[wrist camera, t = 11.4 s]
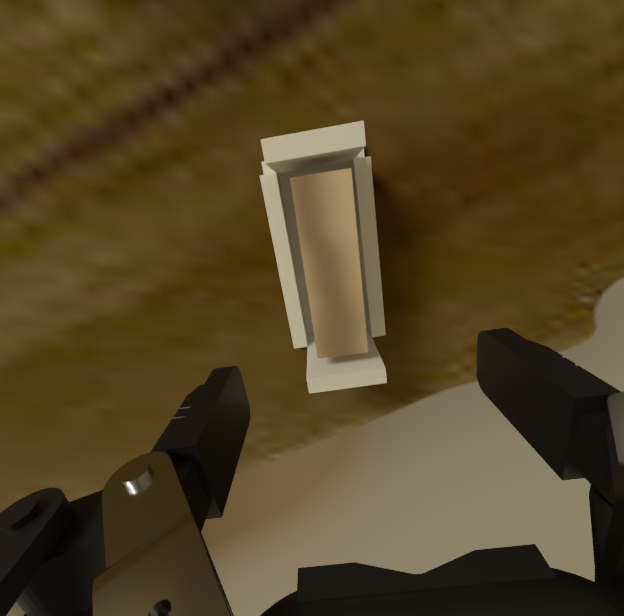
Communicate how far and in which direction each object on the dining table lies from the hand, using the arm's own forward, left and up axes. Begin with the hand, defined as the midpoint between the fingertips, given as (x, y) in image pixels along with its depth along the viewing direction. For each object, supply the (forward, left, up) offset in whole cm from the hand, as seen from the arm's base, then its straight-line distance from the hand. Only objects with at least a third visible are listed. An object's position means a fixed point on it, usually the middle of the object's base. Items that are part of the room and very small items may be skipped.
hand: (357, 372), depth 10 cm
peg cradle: (0, 0, -24) cm, 24 cm away
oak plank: (0, 0, -20) cm, 20 cm away
